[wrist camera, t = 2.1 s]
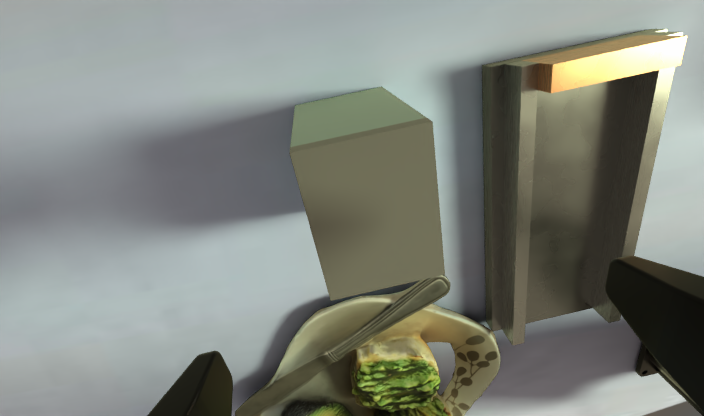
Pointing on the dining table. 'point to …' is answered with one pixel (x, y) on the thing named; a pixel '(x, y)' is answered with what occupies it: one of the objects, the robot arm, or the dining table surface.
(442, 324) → the salad plate
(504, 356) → the dining table surface
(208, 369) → the robot arm
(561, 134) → the rail
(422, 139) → the module
